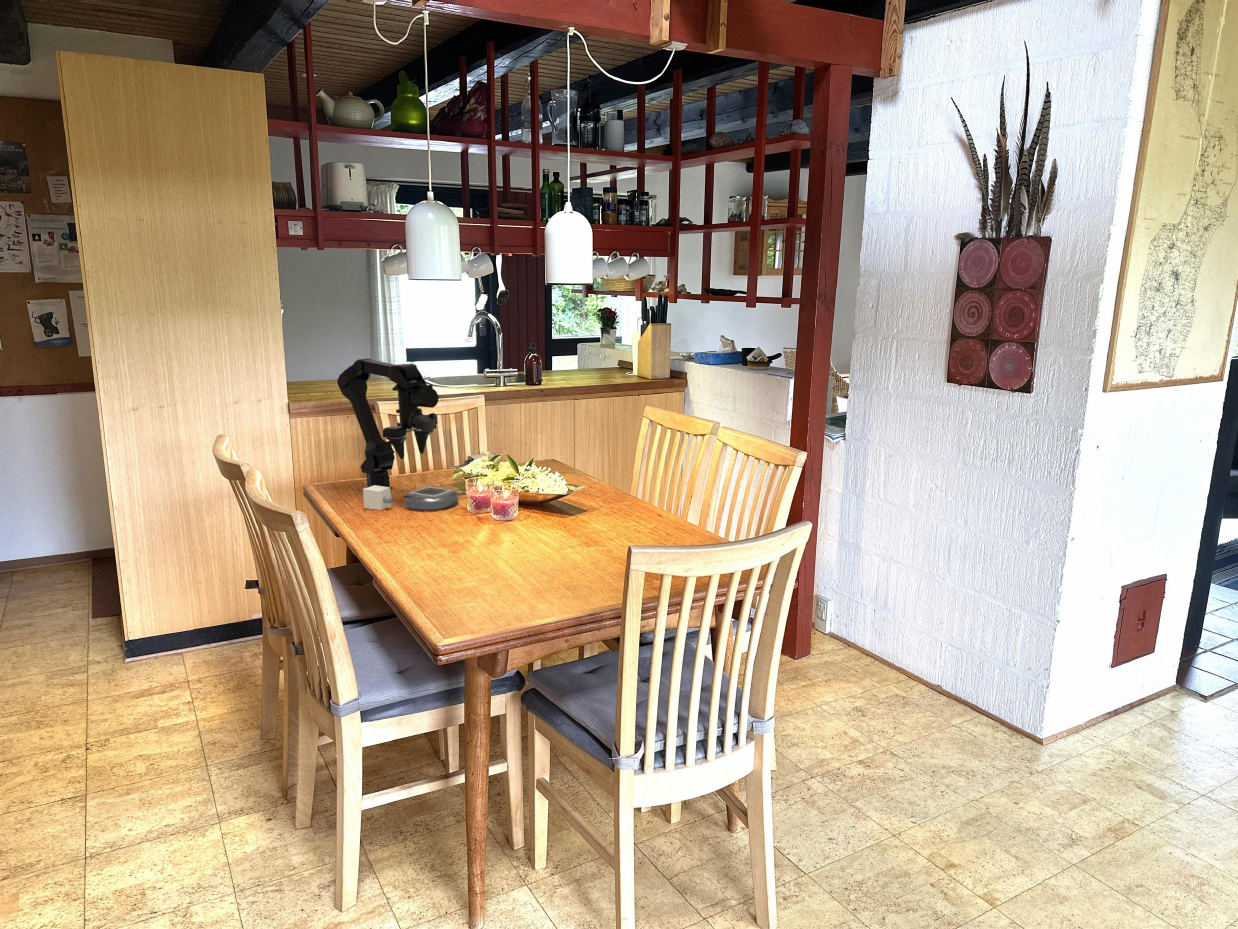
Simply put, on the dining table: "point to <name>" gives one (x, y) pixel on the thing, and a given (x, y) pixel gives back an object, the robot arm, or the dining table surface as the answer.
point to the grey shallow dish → (431, 499)
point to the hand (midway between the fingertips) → (412, 456)
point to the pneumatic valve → (476, 457)
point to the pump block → (377, 497)
